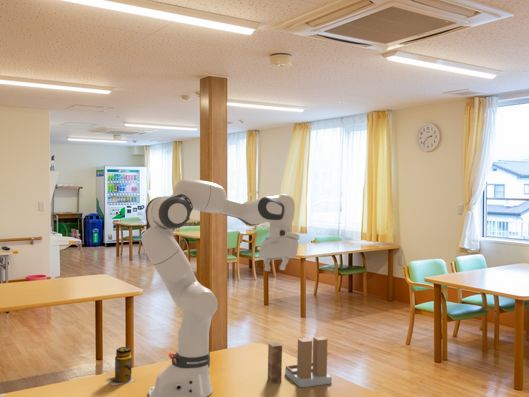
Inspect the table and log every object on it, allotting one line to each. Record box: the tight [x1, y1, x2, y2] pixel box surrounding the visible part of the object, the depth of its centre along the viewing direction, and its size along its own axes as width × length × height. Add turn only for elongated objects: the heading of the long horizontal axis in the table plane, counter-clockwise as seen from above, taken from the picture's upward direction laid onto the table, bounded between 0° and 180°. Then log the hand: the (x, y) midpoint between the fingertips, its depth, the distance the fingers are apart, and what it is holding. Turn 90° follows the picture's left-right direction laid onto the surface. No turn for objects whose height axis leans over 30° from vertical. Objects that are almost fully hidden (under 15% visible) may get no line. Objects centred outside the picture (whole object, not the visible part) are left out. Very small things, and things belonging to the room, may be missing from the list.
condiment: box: [106, 346, 135, 386], centre depth 190 cm, size 7×8×12 cm
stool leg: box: [267, 342, 283, 384], centre depth 193 cm, size 4×4×14 cm
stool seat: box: [284, 335, 333, 389], centre depth 195 cm, size 13×14×16 cm
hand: (274, 270), depth 193 cm, fingers open, 8 cm apart
